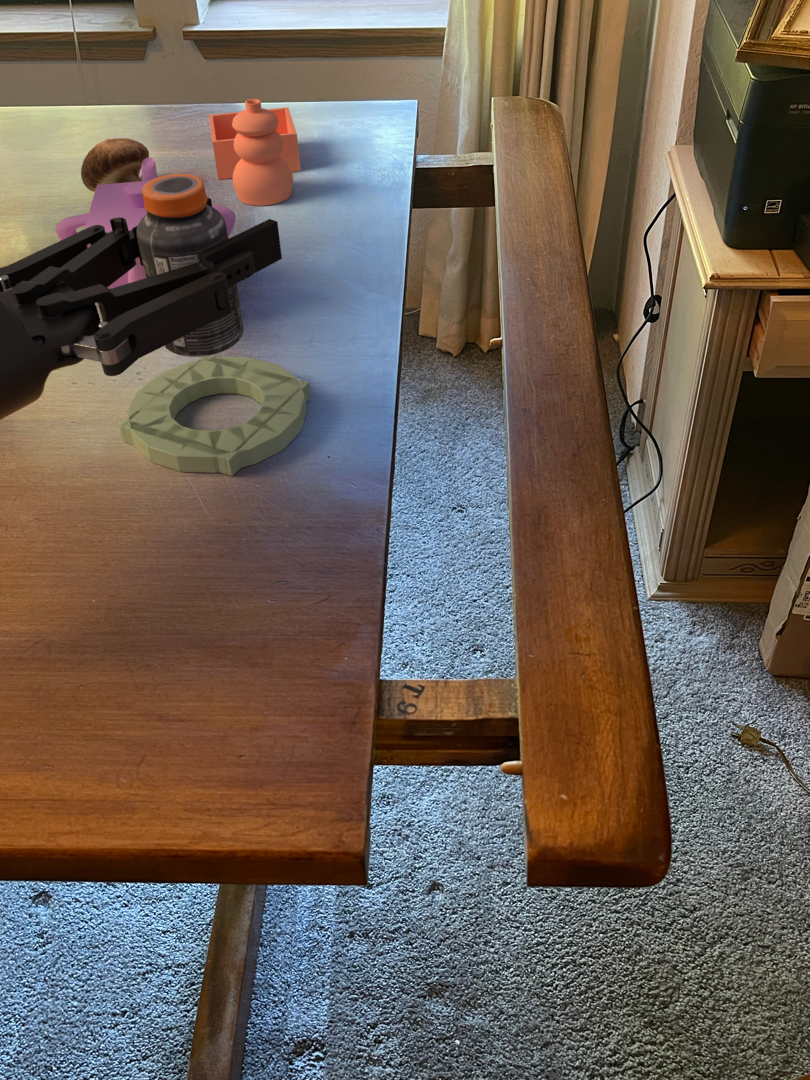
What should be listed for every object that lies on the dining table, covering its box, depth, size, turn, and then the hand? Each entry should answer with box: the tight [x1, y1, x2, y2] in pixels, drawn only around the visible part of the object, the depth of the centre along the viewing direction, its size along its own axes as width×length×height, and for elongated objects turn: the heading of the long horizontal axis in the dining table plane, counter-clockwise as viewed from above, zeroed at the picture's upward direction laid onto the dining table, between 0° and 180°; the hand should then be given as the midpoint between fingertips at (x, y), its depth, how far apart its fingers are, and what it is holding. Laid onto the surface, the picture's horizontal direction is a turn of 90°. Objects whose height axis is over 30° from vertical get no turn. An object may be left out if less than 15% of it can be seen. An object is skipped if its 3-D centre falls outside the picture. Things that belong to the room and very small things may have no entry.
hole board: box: [118, 355, 312, 477], centre depth 73 cm, size 13×13×2 cm
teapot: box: [55, 157, 236, 289], centre depth 84 cm, size 15×13×11 cm
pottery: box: [208, 98, 301, 207], centre depth 106 cm, size 18×10×10 cm, turn 11°
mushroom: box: [80, 137, 150, 193], centre depth 105 cm, size 8×8×6 cm
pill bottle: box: [137, 173, 245, 358], centre depth 65 cm, size 6×6×11 cm
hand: (241, 227), depth 67 cm, fingers closed on pill bottle, 6 cm apart
